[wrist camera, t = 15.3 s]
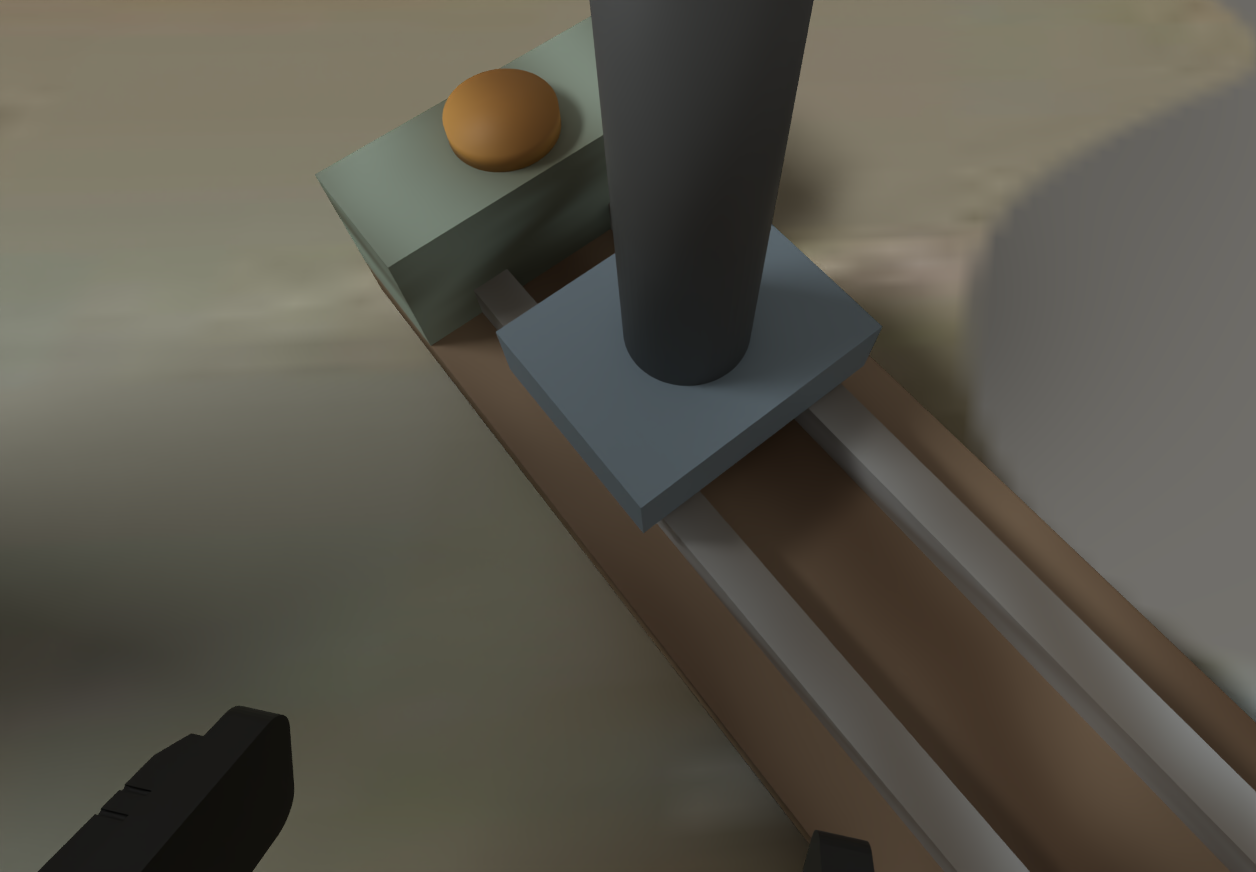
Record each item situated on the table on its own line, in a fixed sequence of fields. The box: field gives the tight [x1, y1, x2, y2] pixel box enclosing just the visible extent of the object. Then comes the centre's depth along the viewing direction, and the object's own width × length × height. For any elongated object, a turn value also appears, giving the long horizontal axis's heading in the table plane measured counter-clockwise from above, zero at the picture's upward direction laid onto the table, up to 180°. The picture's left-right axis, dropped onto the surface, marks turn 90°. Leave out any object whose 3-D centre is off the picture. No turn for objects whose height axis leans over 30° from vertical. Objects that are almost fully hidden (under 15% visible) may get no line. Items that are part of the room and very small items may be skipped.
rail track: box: [315, 16, 1256, 872], centre depth 19 cm, size 10×36×6 cm, turn 38°
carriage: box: [496, 0, 882, 533], centre depth 15 cm, size 8×6×14 cm
